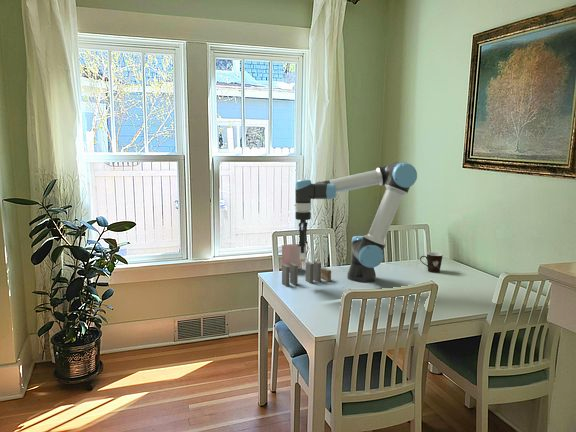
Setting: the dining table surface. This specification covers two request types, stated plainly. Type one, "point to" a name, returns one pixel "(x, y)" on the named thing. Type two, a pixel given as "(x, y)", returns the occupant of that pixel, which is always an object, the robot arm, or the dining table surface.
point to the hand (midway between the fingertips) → (302, 257)
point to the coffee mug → (433, 262)
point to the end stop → (326, 274)
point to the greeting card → (291, 254)
